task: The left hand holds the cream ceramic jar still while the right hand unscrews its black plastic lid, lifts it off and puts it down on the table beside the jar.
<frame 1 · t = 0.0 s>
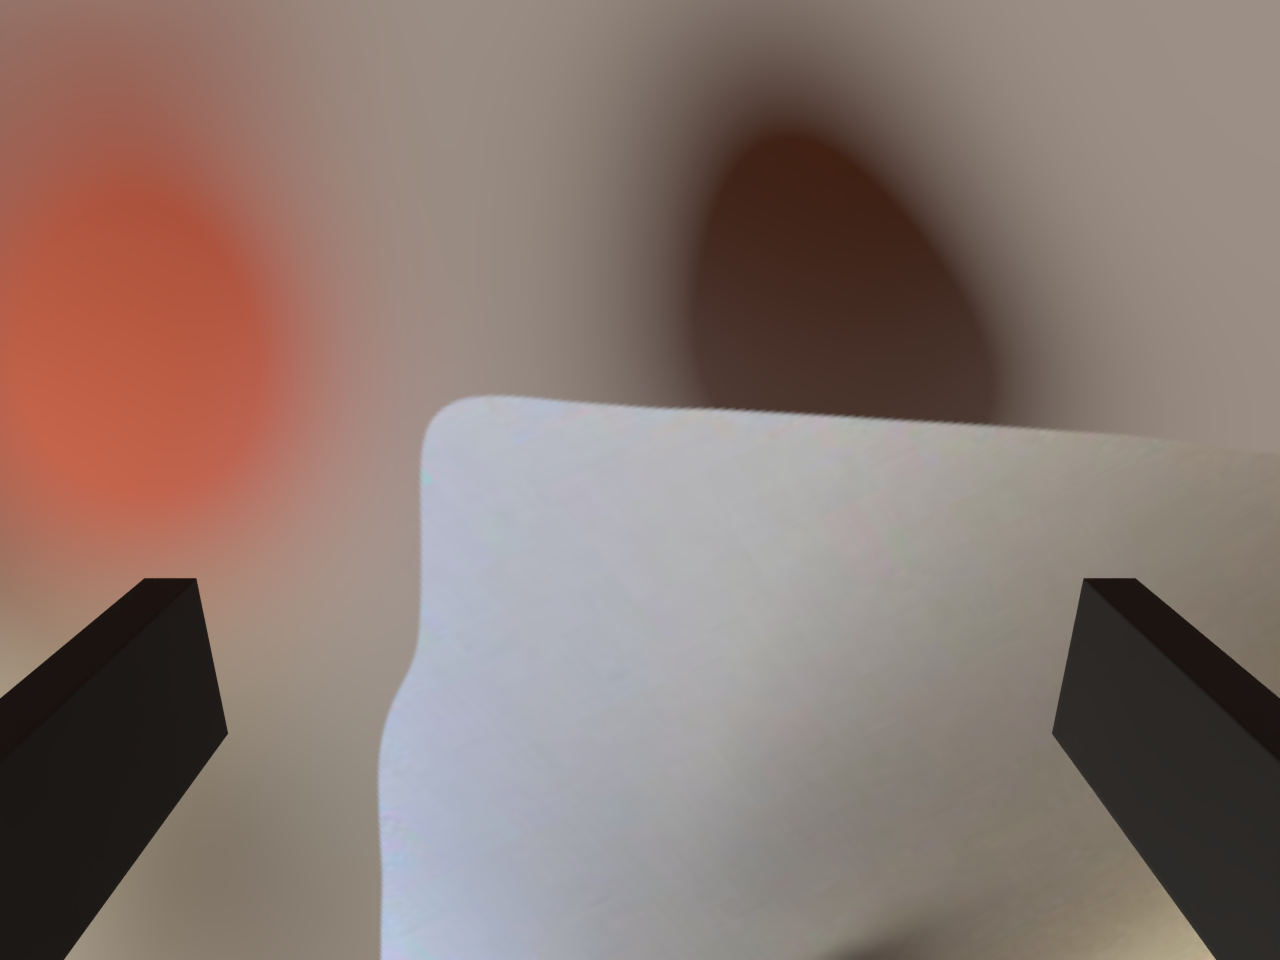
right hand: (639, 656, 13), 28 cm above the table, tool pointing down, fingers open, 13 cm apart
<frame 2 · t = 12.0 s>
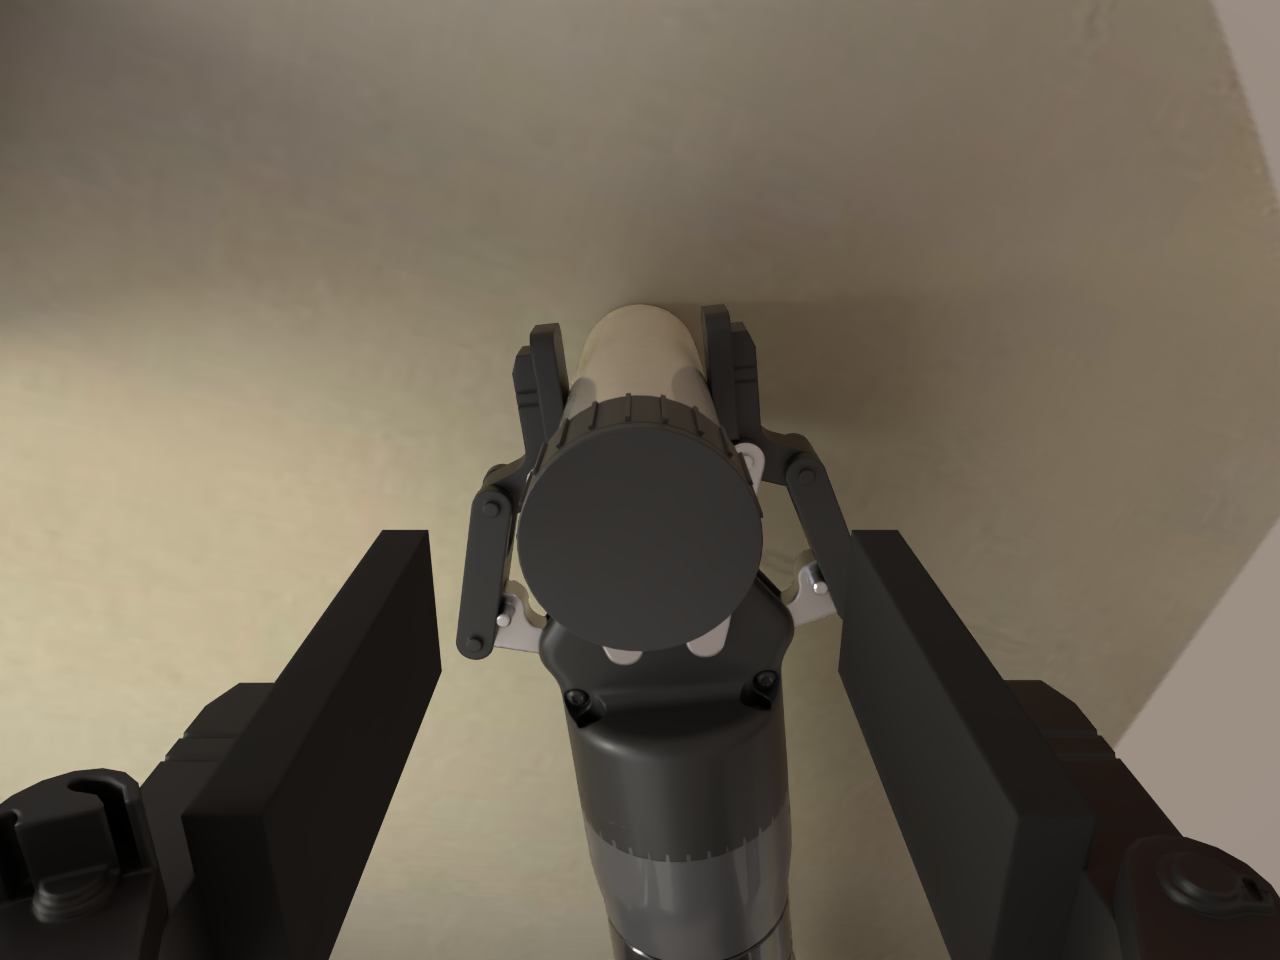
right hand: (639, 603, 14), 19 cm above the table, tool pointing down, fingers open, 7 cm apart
left hand: (628, 321, 25), fingers closed on jar, 4 cm apart
jar: (639, 362, 32), on the table, touching left hand
lid: (639, 538, 17), point 16 cm above the table, screwed on, not yet turned
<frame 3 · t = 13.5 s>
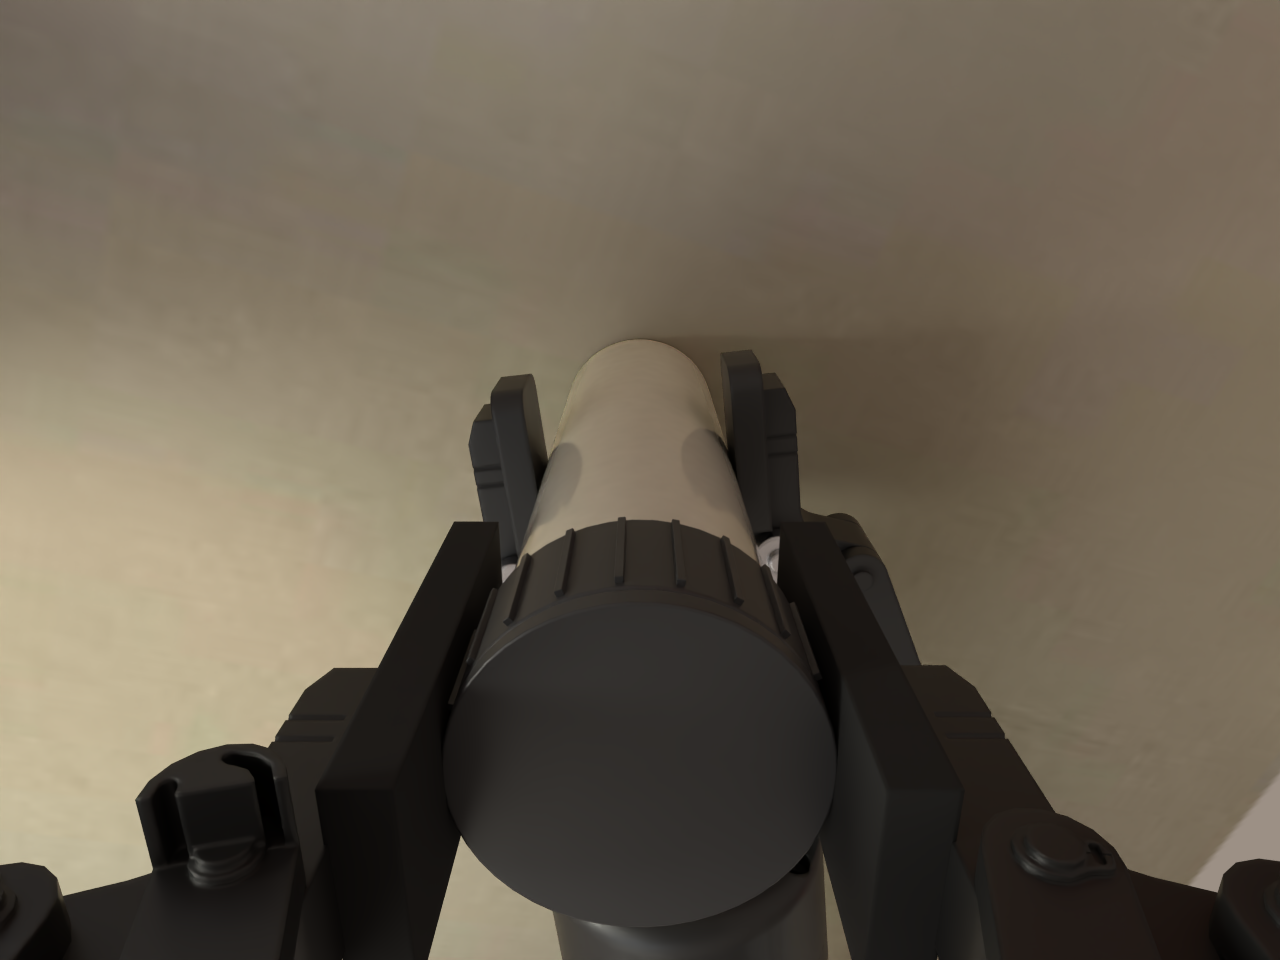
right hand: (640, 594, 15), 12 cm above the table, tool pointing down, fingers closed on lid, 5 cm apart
jar: (639, 410, 26), on the table, touching left hand
lid: (639, 760, 11), point 16 cm above the table, screwed on, not yet turned, touching right hand
when the right hand's fingers open (12 cm above the table, at t = 14.6 s): lid stays where it is, point 16 cm above the table.
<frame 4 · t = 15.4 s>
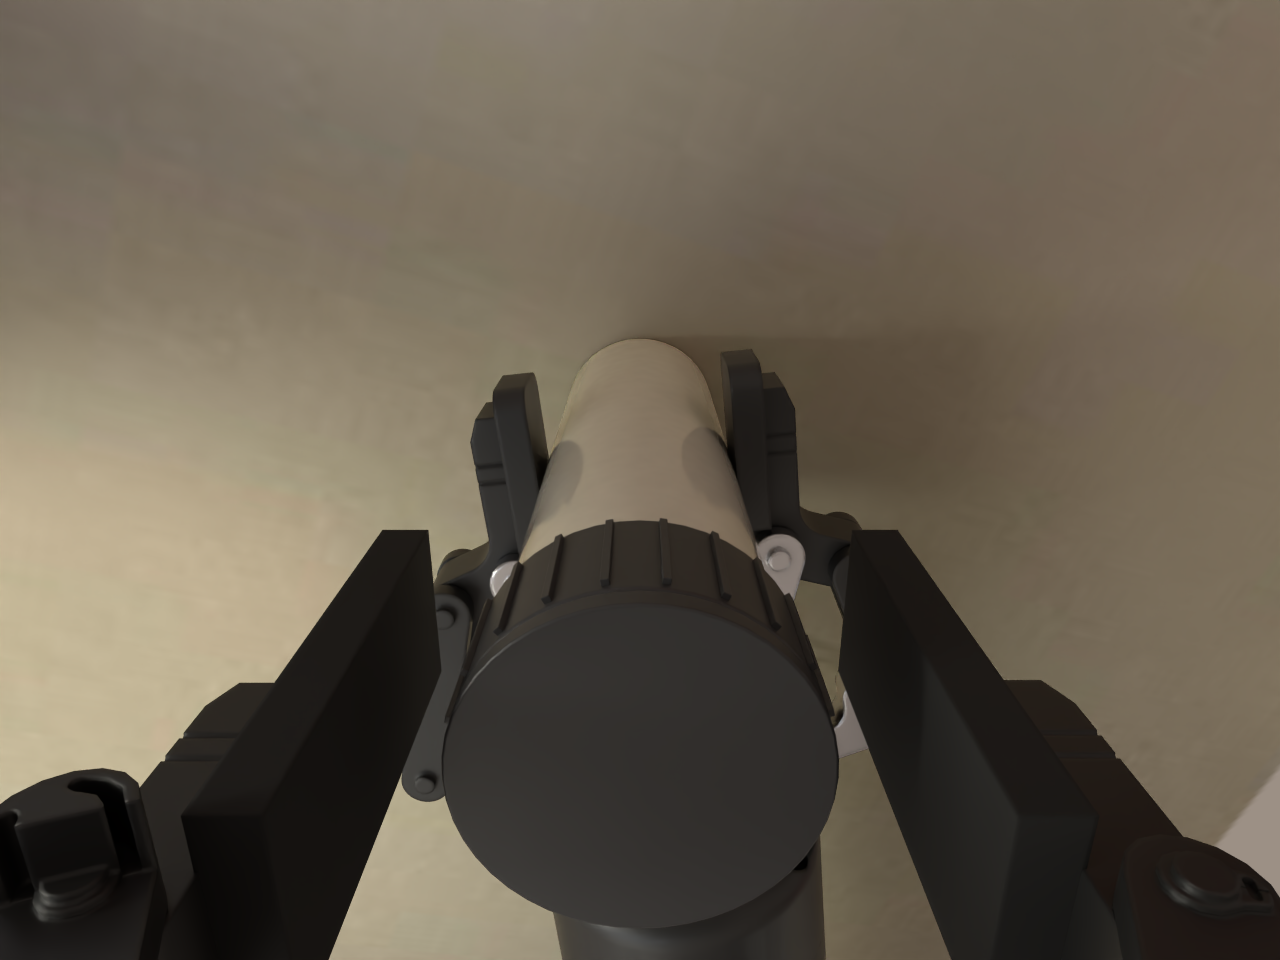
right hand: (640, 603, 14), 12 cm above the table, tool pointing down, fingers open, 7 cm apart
jar: (639, 409, 26), on the table, touching left hand
lid: (640, 761, 11), point 16 cm above the table, turned 73° so far, risen 0.2 cm, still on its thread
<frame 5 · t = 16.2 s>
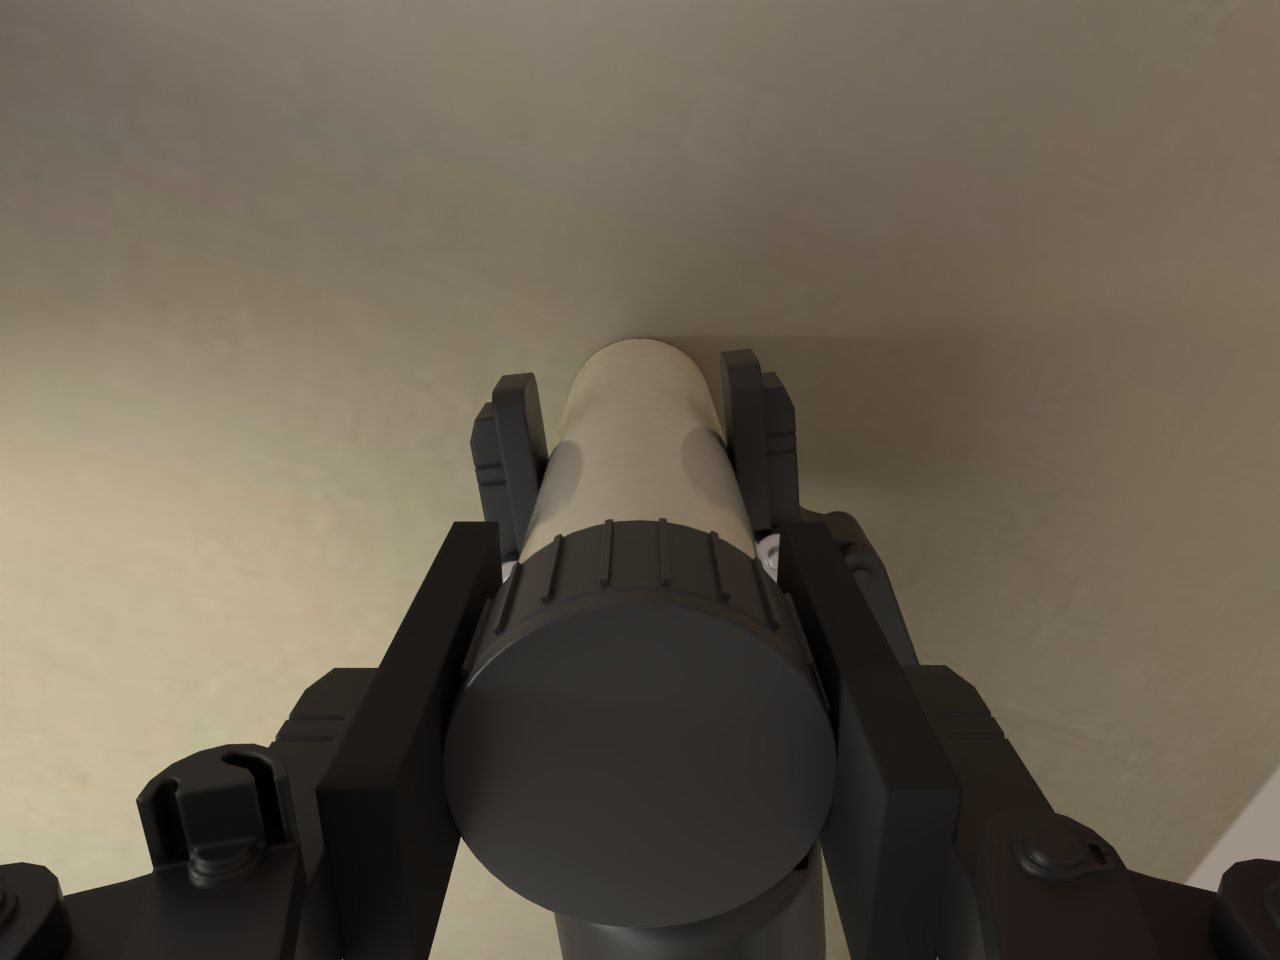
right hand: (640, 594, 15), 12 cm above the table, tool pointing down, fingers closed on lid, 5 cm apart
jar: (639, 409, 26), on the table, touching left hand
lid: (639, 760, 11), point 16 cm above the table, turned 73° so far, risen 0.2 cm, still on its thread, touching right hand
when the right hand's fingers open (0 cm above the table, at t = 22.1 s): lid drops 2 cm, point 2 cm above the table.
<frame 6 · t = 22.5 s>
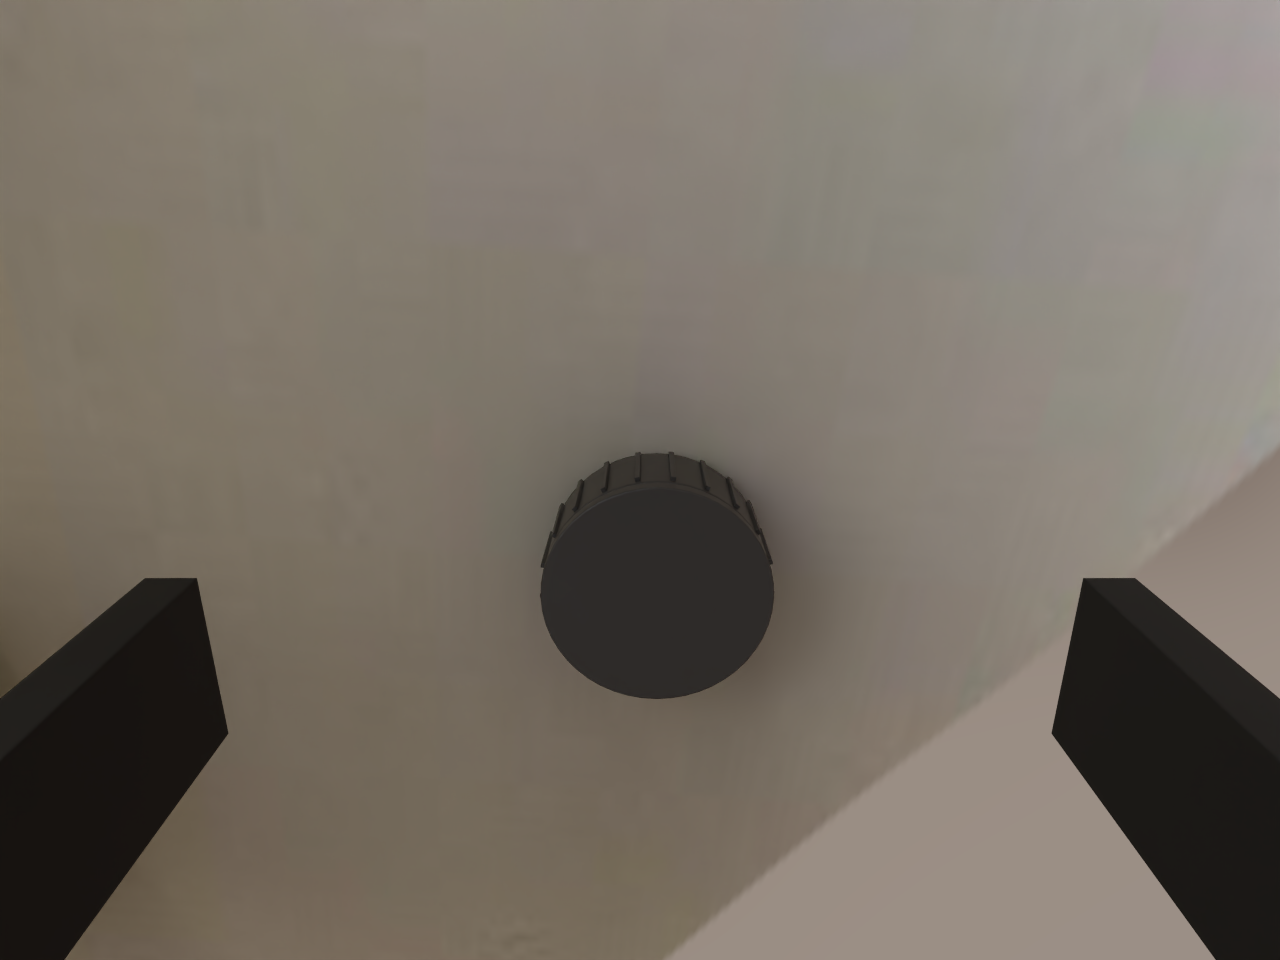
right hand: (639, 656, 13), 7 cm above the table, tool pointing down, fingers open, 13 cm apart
lid: (656, 590, 18), point 2 cm above the table, off its thread
when the left hand's fingers open (7 cm above the table, at t = 22.7 s): jar stays where it is, on the table.
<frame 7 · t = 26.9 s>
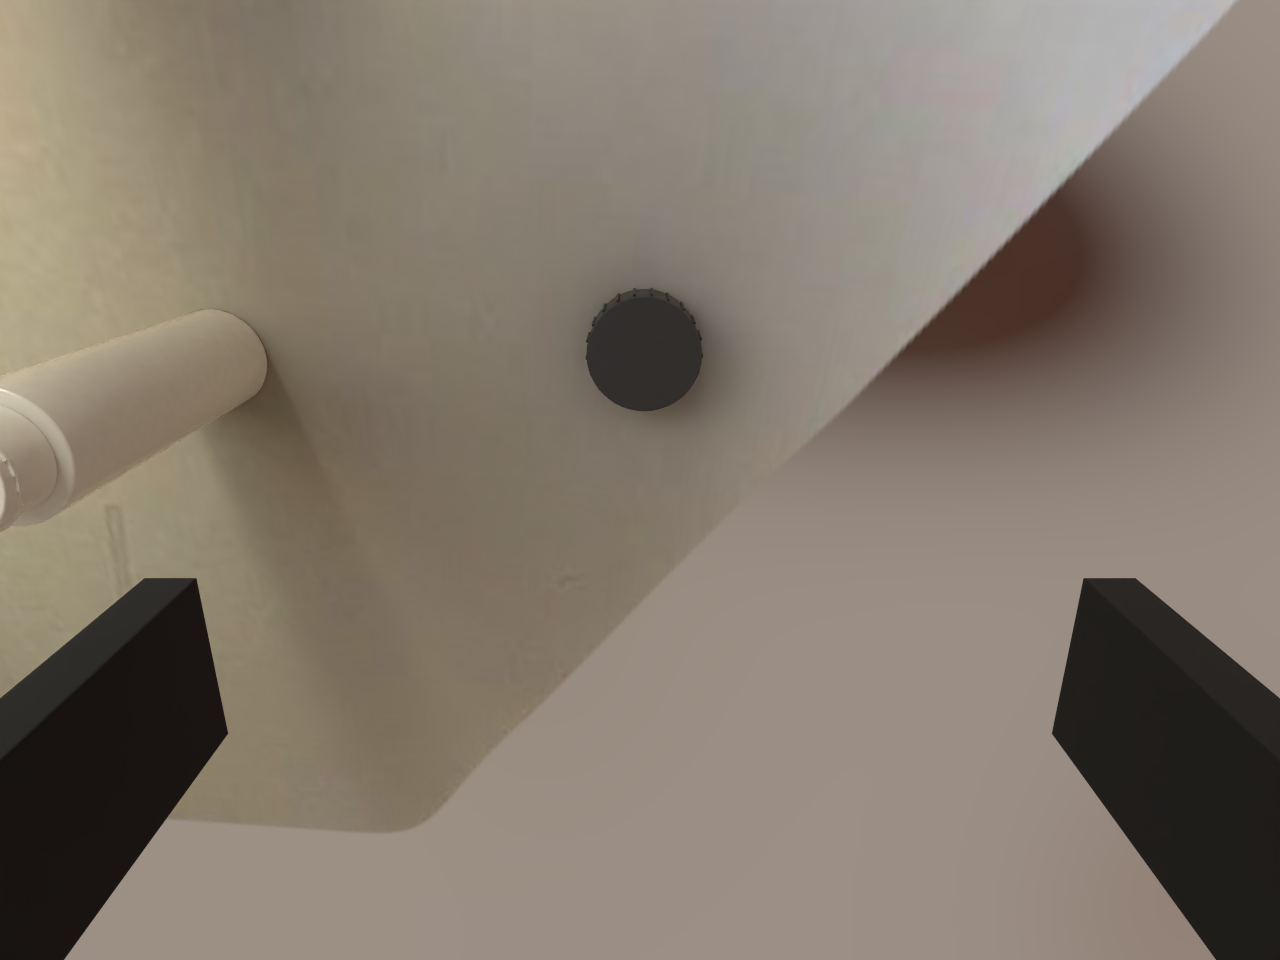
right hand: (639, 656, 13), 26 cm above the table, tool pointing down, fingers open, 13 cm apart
jar: (218, 358, 38), on the table
lid: (644, 353, 35), point 2 cm above the table, off its thread
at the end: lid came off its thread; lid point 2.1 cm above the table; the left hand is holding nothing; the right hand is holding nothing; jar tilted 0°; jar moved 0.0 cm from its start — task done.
